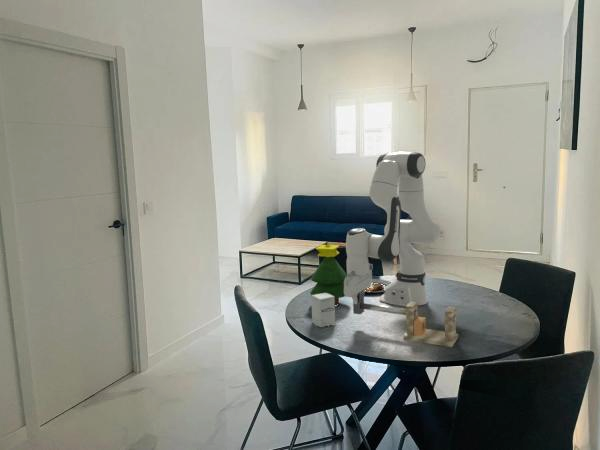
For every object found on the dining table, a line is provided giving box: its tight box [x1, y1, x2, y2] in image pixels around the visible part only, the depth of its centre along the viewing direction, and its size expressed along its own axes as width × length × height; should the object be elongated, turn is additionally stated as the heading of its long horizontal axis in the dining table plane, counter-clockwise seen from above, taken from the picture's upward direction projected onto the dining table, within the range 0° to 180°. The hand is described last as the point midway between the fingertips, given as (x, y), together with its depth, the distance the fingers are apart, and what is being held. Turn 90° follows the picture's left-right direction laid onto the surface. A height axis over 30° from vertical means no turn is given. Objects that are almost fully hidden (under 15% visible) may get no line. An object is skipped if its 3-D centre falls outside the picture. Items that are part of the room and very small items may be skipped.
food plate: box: [365, 278, 393, 294], centre depth 245 cm, size 25×23×4 cm
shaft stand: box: [403, 302, 459, 348], centre depth 177 cm, size 18×10×12 cm, turn 59°
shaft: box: [352, 290, 406, 316], centre depth 186 cm, size 22×4×10 cm, turn 59°
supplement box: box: [310, 293, 336, 328], centre depth 196 cm, size 7×7×13 cm
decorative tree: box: [310, 243, 348, 305], centre depth 220 cm, size 19×19×30 cm
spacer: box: [414, 316, 427, 336], centre depth 179 cm, size 3×5×5 cm, turn 149°
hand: (358, 301), depth 191 cm, fingers closed on shaft, 4 cm apart
